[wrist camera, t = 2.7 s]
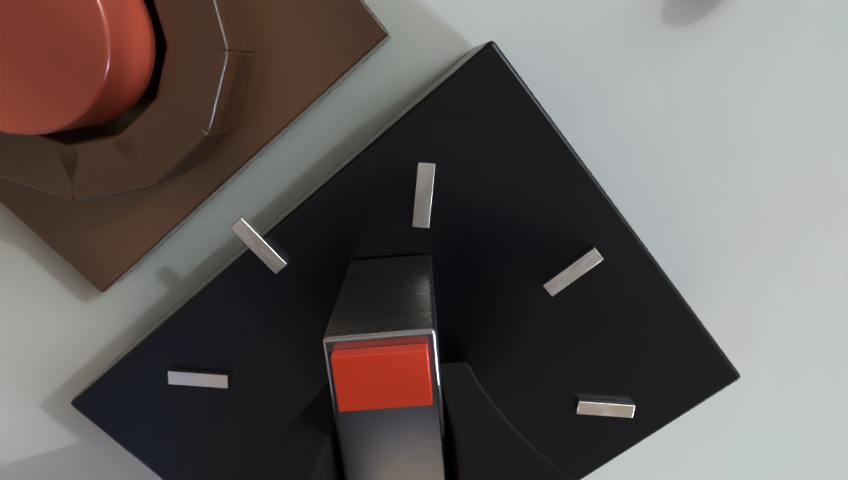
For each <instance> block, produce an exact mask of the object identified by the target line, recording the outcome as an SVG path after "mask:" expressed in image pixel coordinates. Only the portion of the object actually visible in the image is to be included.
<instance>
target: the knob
mask: <svg viewBox="0 0 848 480" xmlns="http://www.w3.org/2000/svg"><path fill="white" fill-rule="evenodd" d="M323 347H324V353H325V359H326V366H327V372H328V378H329V384H330V391H331V397H332V403H333V410H334V416H335V422H336V428H337V435H338V441H339V447H340V454H341V460H342V466H343V472H344V479H345V480H449V470H448V458H447V446H446V434H445V422H444V410H443V398H442V386H441V372H440V357H439V345H438V333H437V321H436V309H435V297H434V285H433V273H432V261H431V256H430V255H417V256H405V257H393V258H380V259H368V260H356V261H351V262H350V265H349V267H348V270H347V273H346V276H345V279H344V282H343V284H342V287H341V290H340V293H339V296H338V298H337V301H336V304H335V307H334V310H333V313H332V315H331V318H330V321H329V324H328V327H327V329H326V332H325V335H324V338H323Z"/></svg>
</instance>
